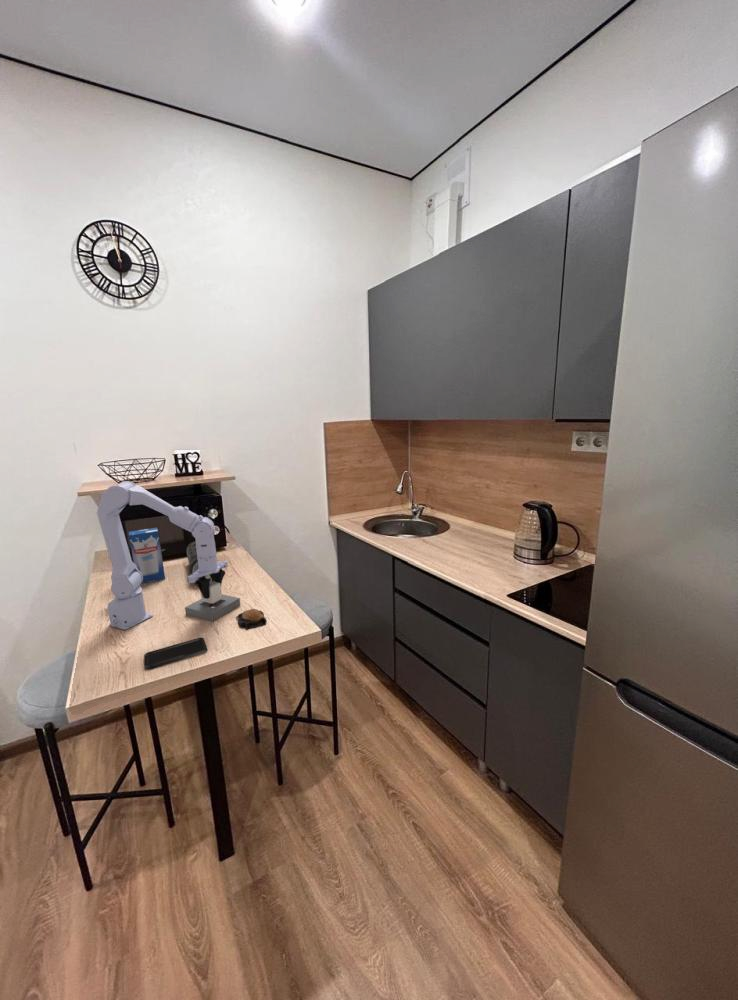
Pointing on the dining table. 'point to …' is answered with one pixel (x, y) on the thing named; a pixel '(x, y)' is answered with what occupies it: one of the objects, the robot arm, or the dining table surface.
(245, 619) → the bread roll
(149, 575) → the milk carton
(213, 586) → the plug
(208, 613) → the socket block
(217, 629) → the dining table surface
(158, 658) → the phone
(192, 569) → the muzzle brake
